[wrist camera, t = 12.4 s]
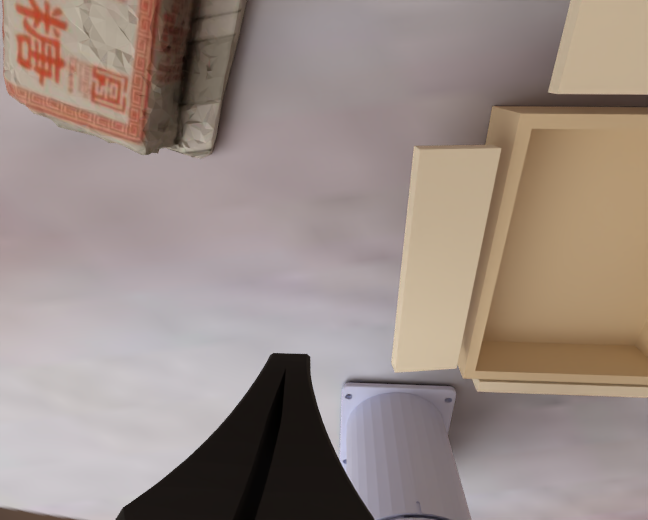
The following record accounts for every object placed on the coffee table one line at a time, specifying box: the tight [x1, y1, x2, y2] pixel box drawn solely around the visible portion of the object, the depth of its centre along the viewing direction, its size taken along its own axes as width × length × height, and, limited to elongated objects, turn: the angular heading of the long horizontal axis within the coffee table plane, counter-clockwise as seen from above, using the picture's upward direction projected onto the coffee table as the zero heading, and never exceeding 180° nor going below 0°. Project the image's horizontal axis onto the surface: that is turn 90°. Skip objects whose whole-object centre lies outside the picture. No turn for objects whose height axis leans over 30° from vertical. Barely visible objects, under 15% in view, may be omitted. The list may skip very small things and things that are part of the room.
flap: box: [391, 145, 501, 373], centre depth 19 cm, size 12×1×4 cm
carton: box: [457, 106, 648, 398], centre depth 21 cm, size 16×13×3 cm
